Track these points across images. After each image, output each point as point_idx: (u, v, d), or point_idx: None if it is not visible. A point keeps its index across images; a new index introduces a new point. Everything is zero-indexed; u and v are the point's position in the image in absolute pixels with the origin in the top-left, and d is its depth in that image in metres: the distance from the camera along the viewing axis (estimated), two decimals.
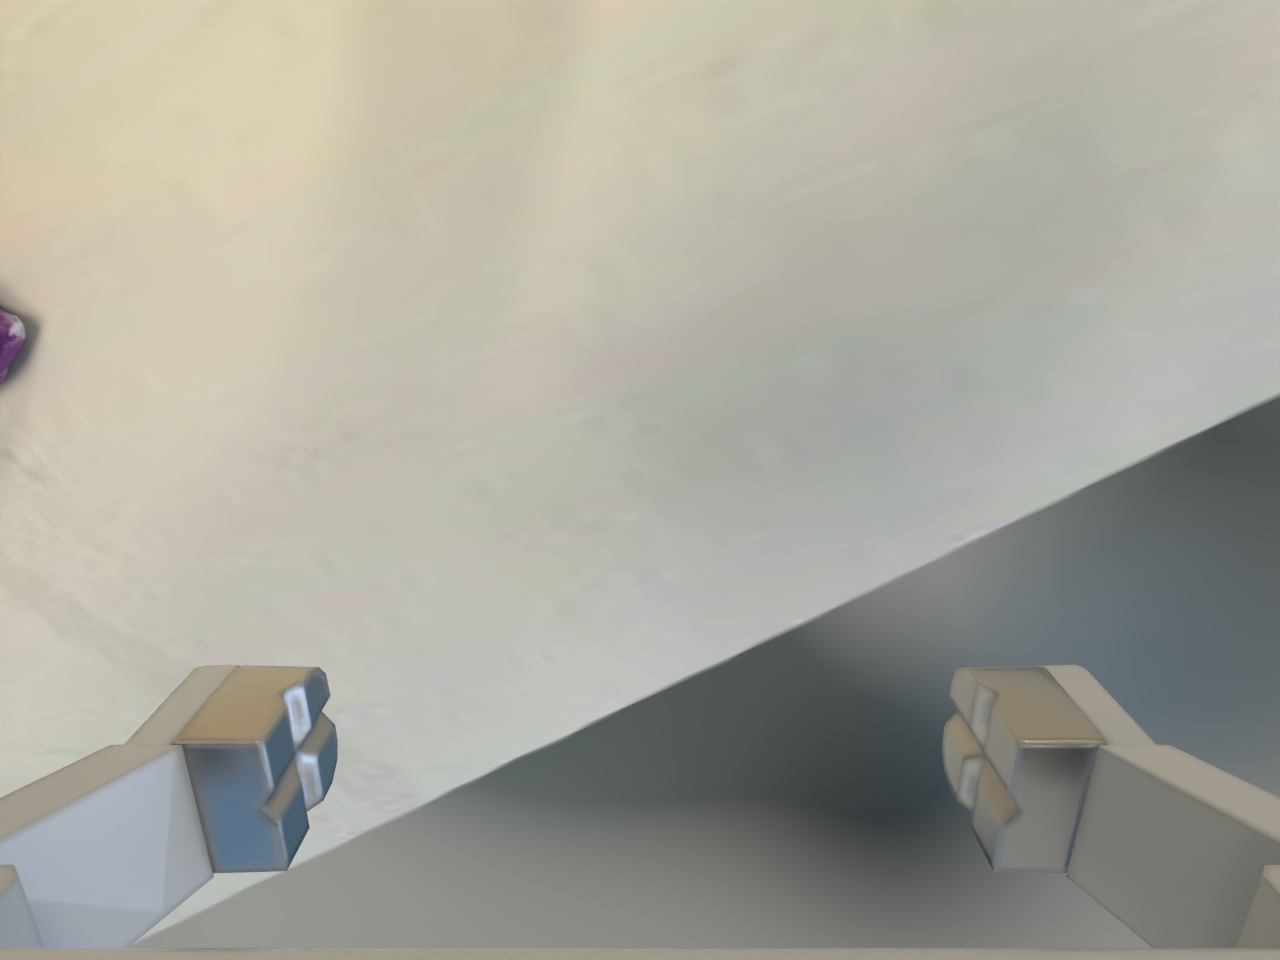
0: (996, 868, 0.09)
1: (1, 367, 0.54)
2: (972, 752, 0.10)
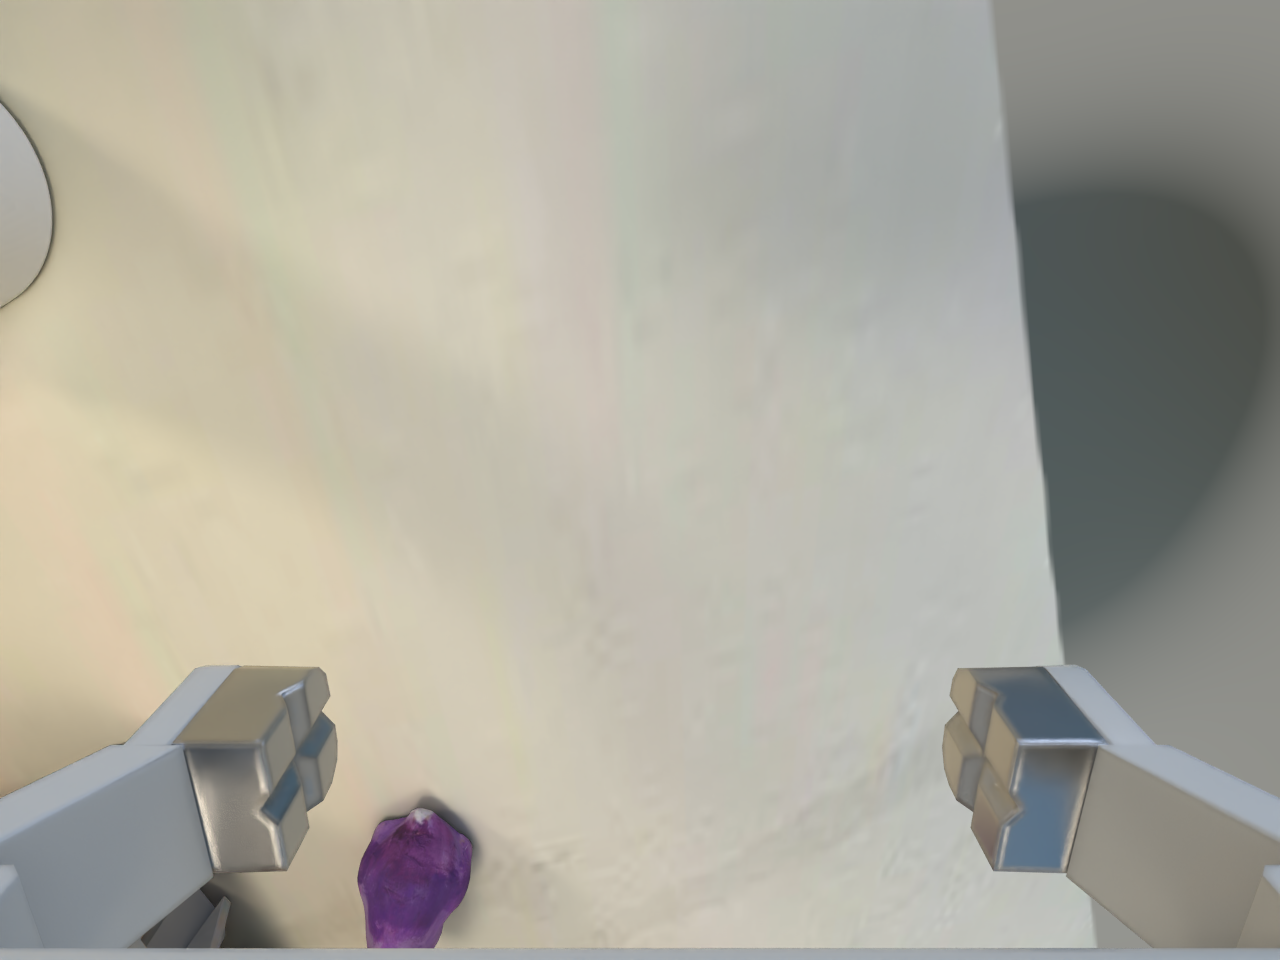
0: (996, 868, 0.09)
1: (448, 841, 0.60)
2: (972, 753, 0.10)
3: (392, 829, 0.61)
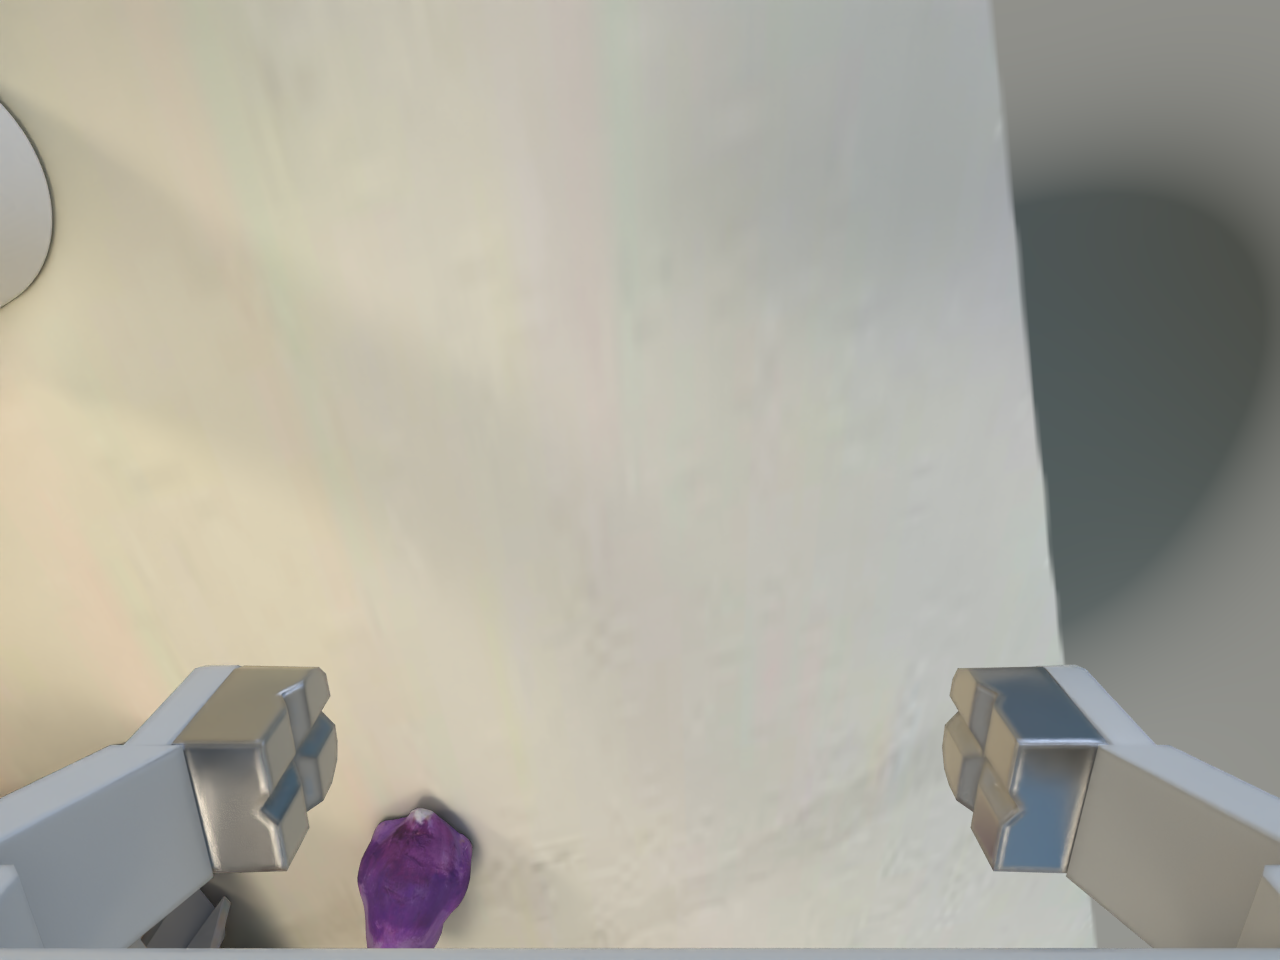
0: (996, 868, 0.09)
1: (448, 841, 0.60)
2: (972, 753, 0.10)
3: (392, 829, 0.61)
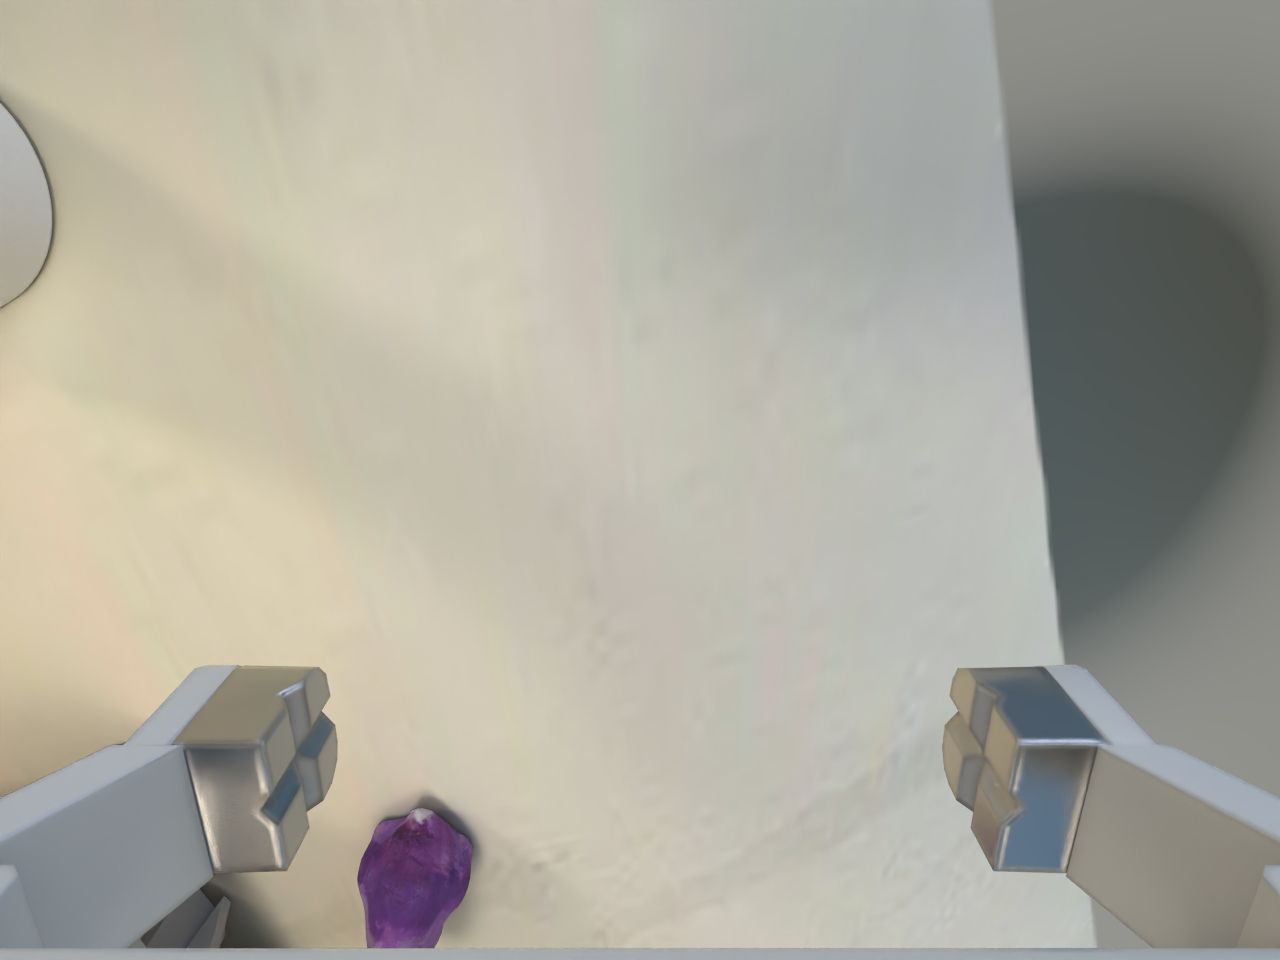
0: (996, 868, 0.09)
1: (448, 841, 0.60)
2: (972, 753, 0.10)
3: (392, 829, 0.61)
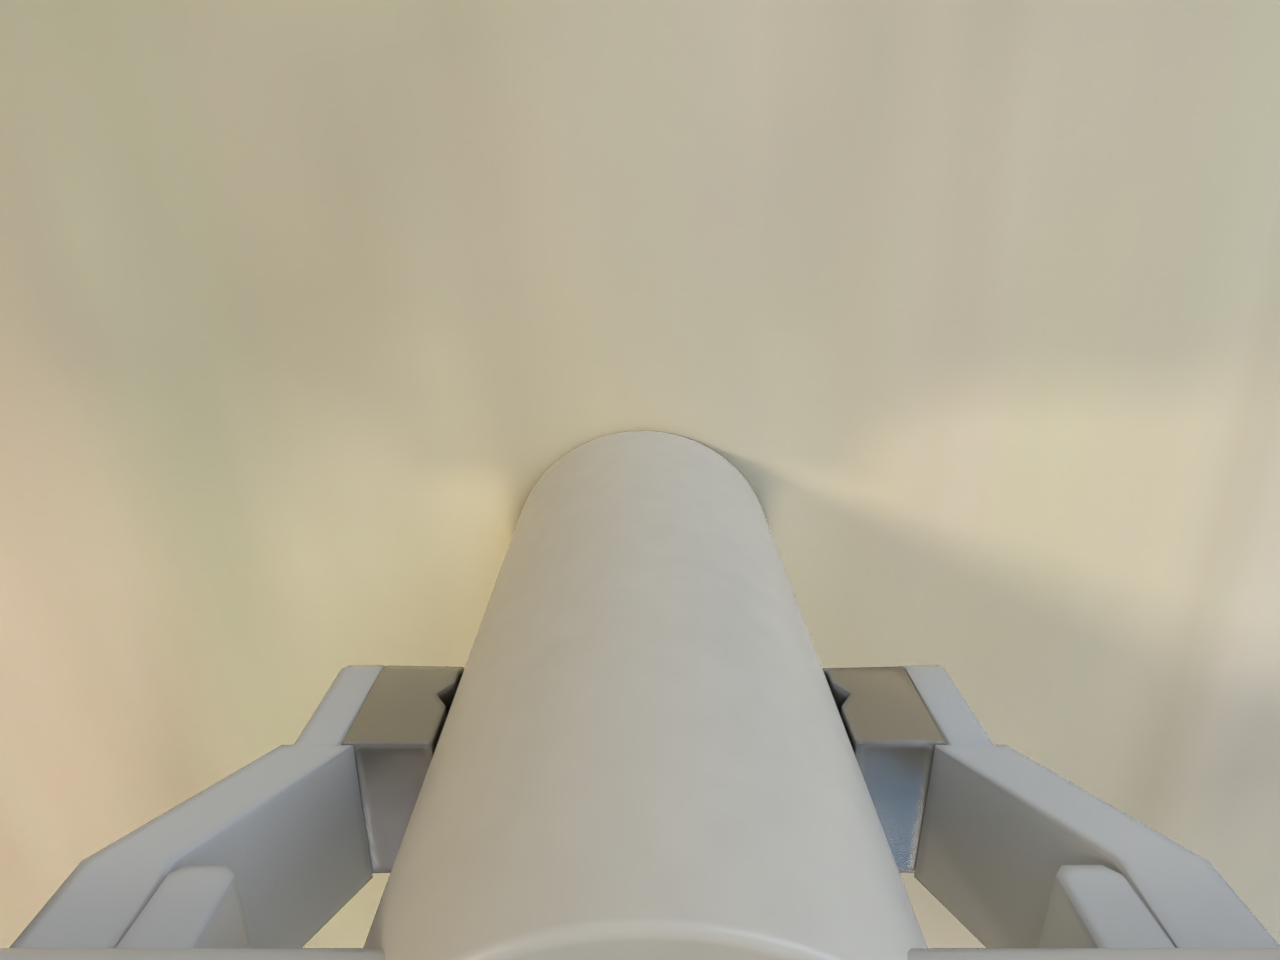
0: None
1: None
2: None
3: None
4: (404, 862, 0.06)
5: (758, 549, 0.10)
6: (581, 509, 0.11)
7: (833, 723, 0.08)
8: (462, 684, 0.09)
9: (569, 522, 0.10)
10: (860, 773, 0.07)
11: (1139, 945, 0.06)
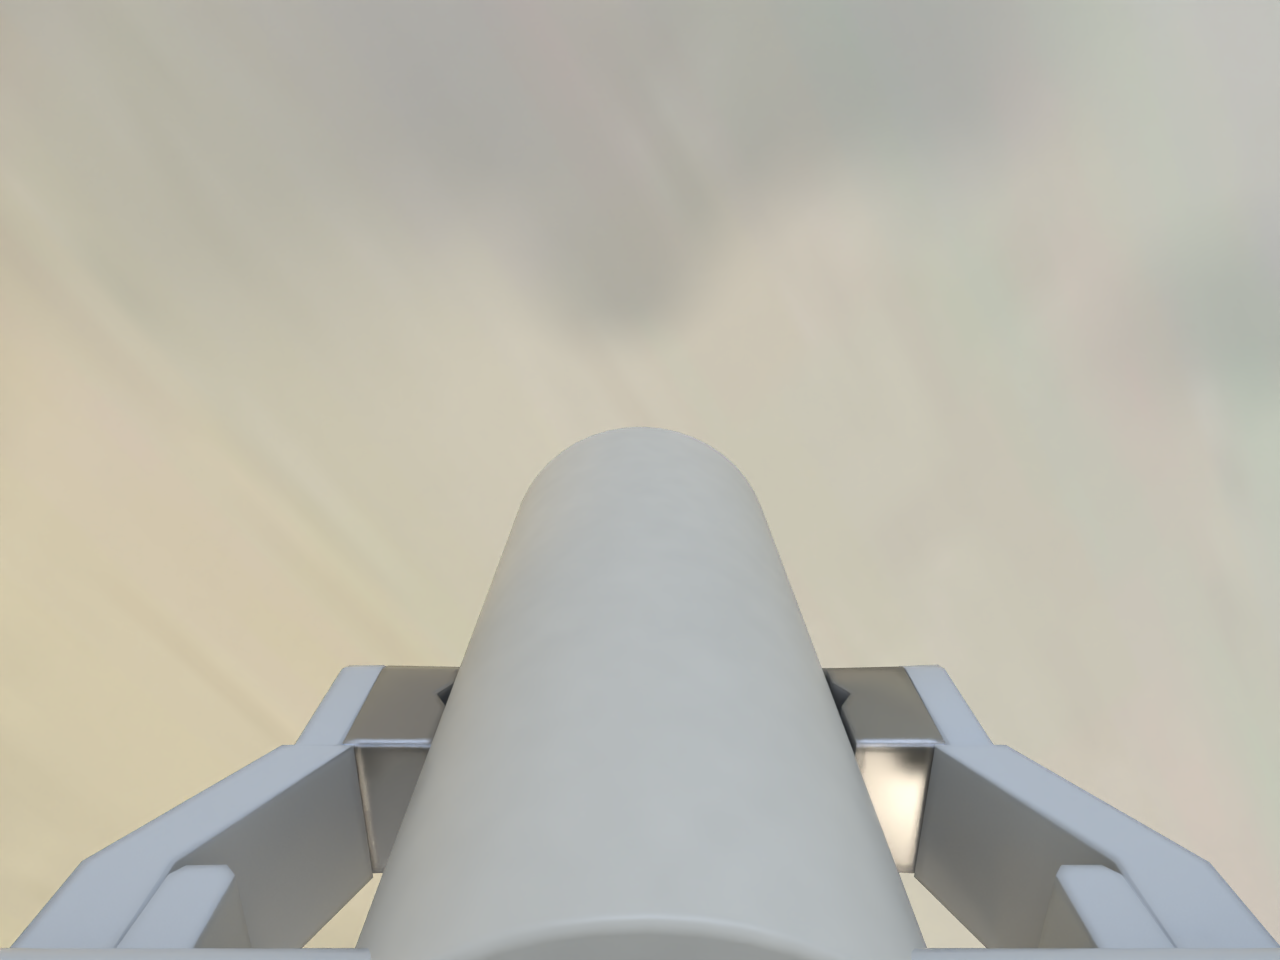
0: None
1: None
2: None
3: None
4: (397, 858, 0.06)
5: (756, 545, 0.10)
6: (578, 504, 0.11)
7: (830, 718, 0.08)
8: (458, 679, 0.08)
9: (565, 518, 0.10)
10: (857, 768, 0.07)
11: (1139, 945, 0.06)
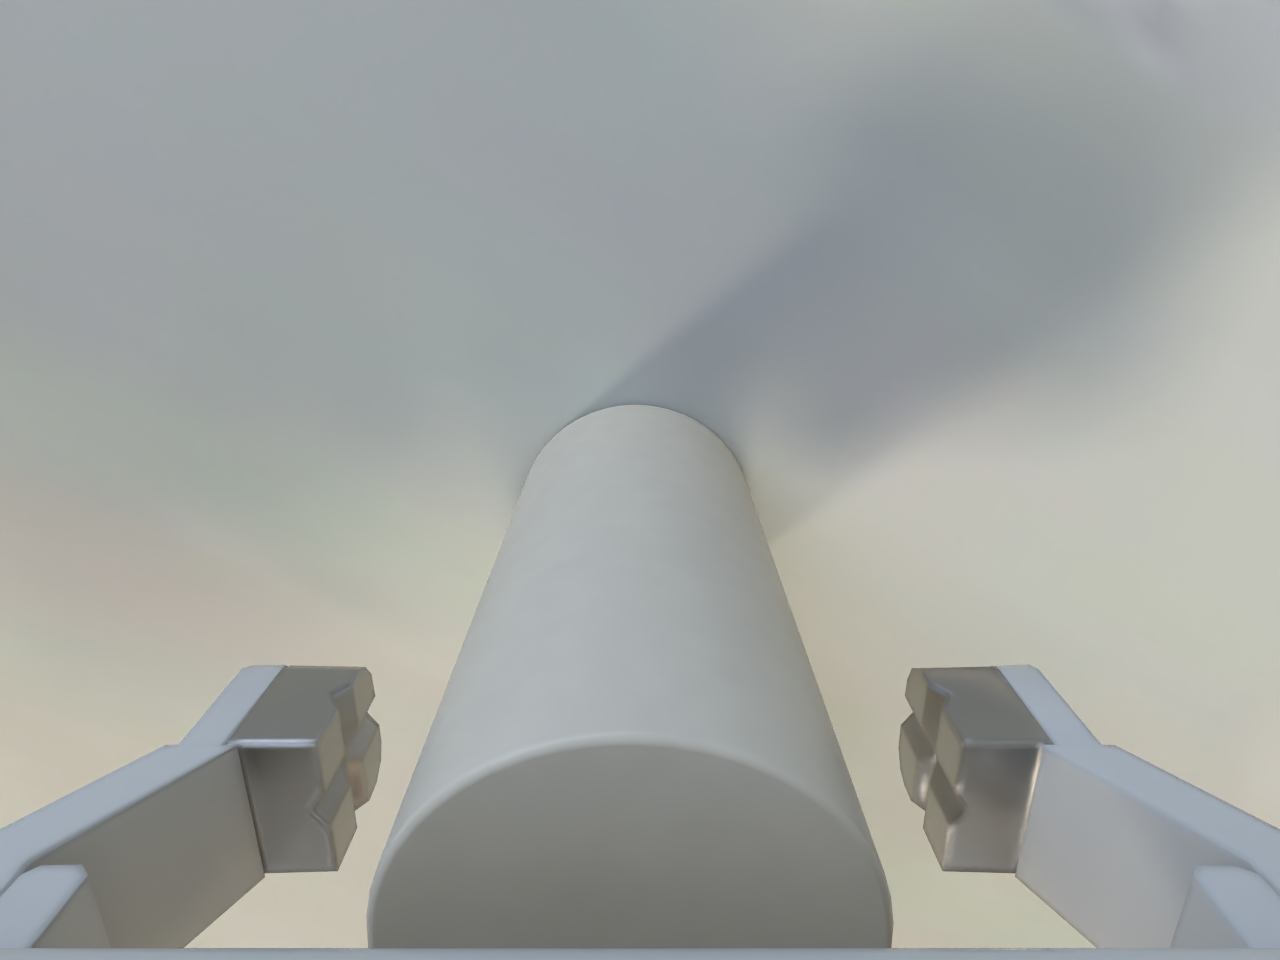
0: (945, 868, 0.09)
1: None
2: (924, 752, 0.10)
3: None
4: (439, 724, 0.08)
5: (734, 501, 0.12)
6: (580, 467, 0.12)
7: (789, 630, 0.09)
8: (480, 606, 0.10)
9: (570, 478, 0.12)
10: (811, 671, 0.09)
11: None
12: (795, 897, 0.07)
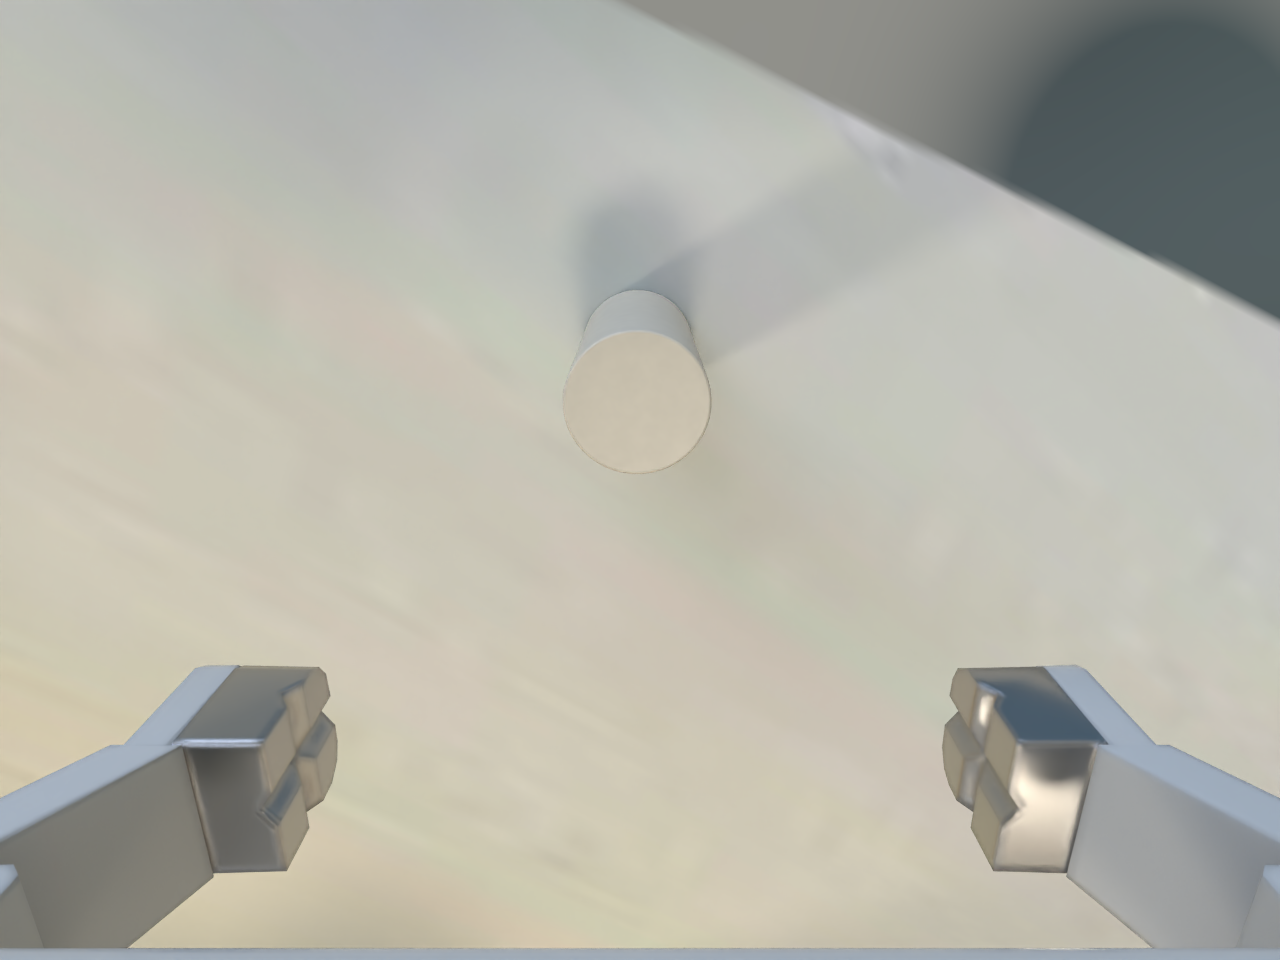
0: (996, 867, 0.09)
1: None
2: (972, 752, 0.10)
3: None
4: (586, 343, 0.25)
5: (685, 325, 0.30)
6: (625, 301, 0.30)
7: (697, 351, 0.27)
8: (587, 333, 0.27)
9: (621, 303, 0.29)
10: None
11: None
12: (685, 391, 0.24)
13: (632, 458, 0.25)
